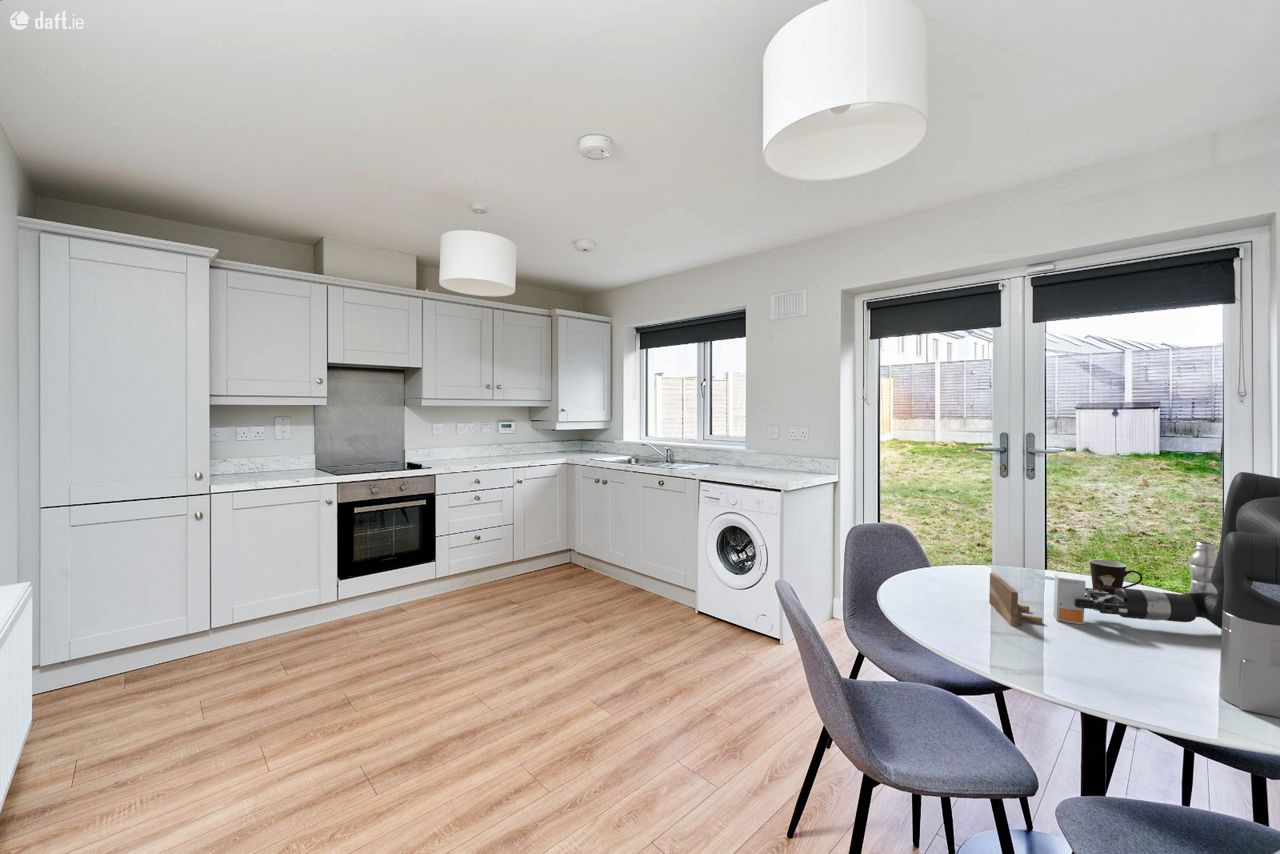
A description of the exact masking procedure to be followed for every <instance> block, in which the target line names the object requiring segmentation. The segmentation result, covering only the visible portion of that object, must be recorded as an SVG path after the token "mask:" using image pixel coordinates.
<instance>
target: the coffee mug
mask: <svg viewBox="0 0 1280 854" xmlns="http://www.w3.org/2000/svg"><path fill="white" fill-rule="evenodd" d="M1089 567H1090V575H1091V583H1092V584H1091V585H1092V589H1101V590H1103V592H1108V593H1109V594H1113V593H1114V592H1115V590H1116V589H1118V588H1126V589H1129V588H1131V587H1134V586H1138V584H1140V583H1141V582H1142V581H1143V579H1144V578H1143V575H1142V573H1140V572H1139V571H1137V570H1126V569H1127V565H1126V564H1125V563H1122V562H1118V561H1115V560H1109V559H1108V560H1107V559H1100V558H1099V559H1095V558H1092V559H1089ZM1131 573H1135V574H1137V575H1138V576H1139V580H1138V581H1136V582H1134V583H1132V584H1128V585H1125V586H1123V585H1124V580H1125V577H1126V576H1127V575H1128V574H1131Z"/></svg>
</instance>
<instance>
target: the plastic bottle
mask: <svg viewBox="0 0 1280 854" xmlns="http://www.w3.org/2000/svg"><path fill="white" fill-rule="evenodd" d="M1195 543H1196V544H1195V549H1196V550H1195V551H1194V552H1193V553H1191V555H1190V556H1189V557H1188V559H1187V560H1188V566H1189V572H1190V587H1189V591H1188V593H1198V592H1208V593H1214V594H1217V590H1216V588H1215V587H1214V585H1213V584H1212V583H1211V575H1212V572H1213V568H1214V565H1215V562H1216V559H1217V554H1216V553H1215V551H1216V544H1215V543H1213V542H1208V541H1196V542H1195Z"/></svg>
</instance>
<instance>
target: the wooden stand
mask: <svg viewBox="0 0 1280 854" xmlns="http://www.w3.org/2000/svg"><path fill="white" fill-rule="evenodd" d="M988 594H989V599H988V600H989V601H988V602H989V604H990V605H991V606H992V607H993V608H994V610H996V611H997V613H998V614H999V615H1000V616H1001V617H1002V618H1003V619H1004V620H1005V621H1006V623H1008V625H1010V626H1011V627H1023V626H1022V623H1030V624H1040V625H1043V617H1042V616H1037V615H1036V616H1035V615H1029V614H1027V615H1026V614H1023V612H1026V613H1030V605H1028V604H1027V605H1026V604H1019V592H1018V591H1017V590H1016V589H1014V588H1013V586H1011V585H1010V584H1009V583H1008V582H1006V581H1005V580H1004V579H1003V578H1002V577H1001V576H1000V575H998V574H997V573H996V572H989V593H988Z"/></svg>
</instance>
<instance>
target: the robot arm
mask: <svg viewBox="0 0 1280 854" xmlns="http://www.w3.org/2000/svg"><path fill="white" fill-rule="evenodd" d="M1228 487H1229V488H1228V492H1227V494H1226V495H1227V496H1226V500H1225V505H1224V512H1223V518H1222V524H1221V533H1220V542H1219V548H1218V552H1217V554H1216V556H1217V559H1216V562H1215V565H1214V568H1213V572H1212V575H1211V583H1212V584H1213V585H1214V587H1215V588H1216V590H1217V594H1214V593H1208V592H1198V593H1189V592H1188V593H1181V594H1180V593H1174V592H1173V593H1170V592H1160V591H1159V592H1158V591H1153V590H1149V589H1147V590H1146V589H1137V588H1118V589H1116V590H1115V592H1114V593H1113V594H1109V593H1108V592H1103V590H1101V589H1093V587H1092V588H1089V587H1085V599H1075V606H1076V607H1077V608H1084V609H1086V610H1088V609H1089V610H1093V611H1096V612H1099V613H1100V614H1102V615H1105V614H1107V615H1118V616H1120V617H1121V618H1123V619H1124V618H1125V619H1136V620H1146V621H1167V622H1174V623H1176V622H1177V623H1191V622H1193V621H1195V620H1196V618H1200V619H1201V618H1203V619H1206V620H1207V621H1209V622H1210V623H1211V624H1213V625H1214V626H1216V627H1217V628H1218V629H1221V642H1220V643H1221V645H1220V646H1221V647H1220V669H1219V670H1220V671H1219V674H1220V675H1219V696H1220V698H1222V700H1224V701H1226V702H1227V703H1229V704H1232V705H1234V706H1236V707H1238V708H1239V709H1240V710H1243V711H1247V712H1251V713H1257V714H1261V715H1265V716H1271V717H1277V718H1280V601H1279V600H1277V599H1275V598H1272V597H1270V596H1268V595H1264V594H1263V593H1261V592H1259V591H1257V590H1256V589H1254V588H1253V584H1254V582H1255V583H1261V584H1267V585H1272V586H1273V585H1275V586H1280V477H1275V476H1270V475H1263V474H1258V473H1253V472H1247V471H1240V472H1238V473H1237V474H1235V475H1234V477H1233V478H1232V480H1231V482H1230V485H1229V486H1228Z"/></svg>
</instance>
